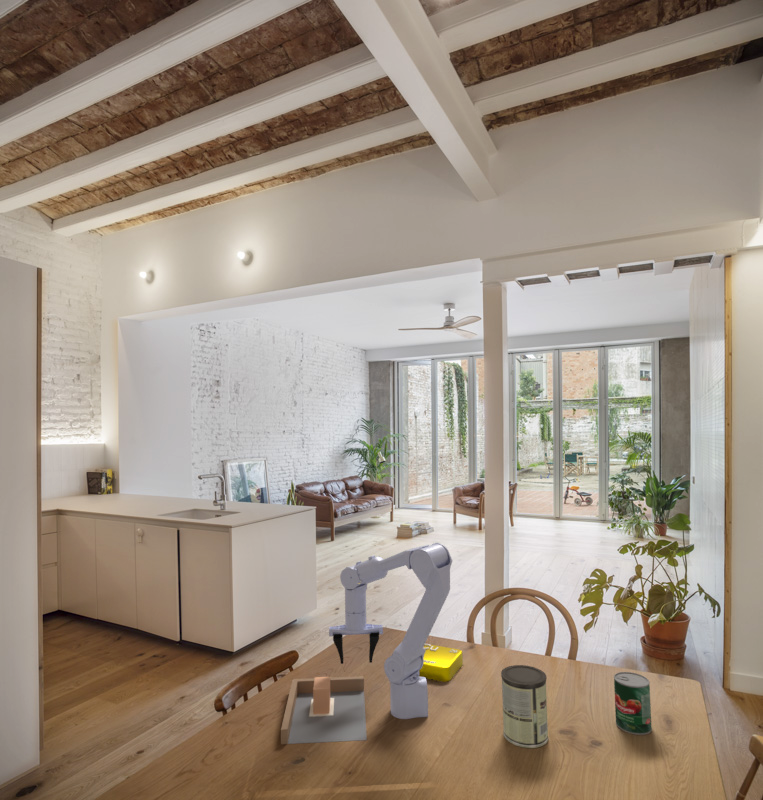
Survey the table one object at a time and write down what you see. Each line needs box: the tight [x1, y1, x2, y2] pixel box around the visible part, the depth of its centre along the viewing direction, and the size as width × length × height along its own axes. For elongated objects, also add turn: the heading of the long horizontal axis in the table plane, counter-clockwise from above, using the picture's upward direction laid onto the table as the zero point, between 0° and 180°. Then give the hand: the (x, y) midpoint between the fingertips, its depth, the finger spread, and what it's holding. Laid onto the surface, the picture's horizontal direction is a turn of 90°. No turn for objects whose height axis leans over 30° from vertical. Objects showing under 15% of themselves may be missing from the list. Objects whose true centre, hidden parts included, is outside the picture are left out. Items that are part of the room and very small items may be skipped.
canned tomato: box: [613, 671, 653, 736], centre depth 132 cm, size 8×8×11 cm
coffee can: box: [500, 664, 549, 749], centre depth 128 cm, size 10×10×14 cm
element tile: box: [419, 643, 464, 683], centre depth 166 cm, size 15×15×5 cm
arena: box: [280, 675, 368, 745], centre depth 138 cm, size 20×26×4 cm
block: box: [313, 676, 331, 714], centre depth 141 cm, size 7×4×6 cm, turn 3°
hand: (356, 661), depth 148 cm, fingers open, 7 cm apart
